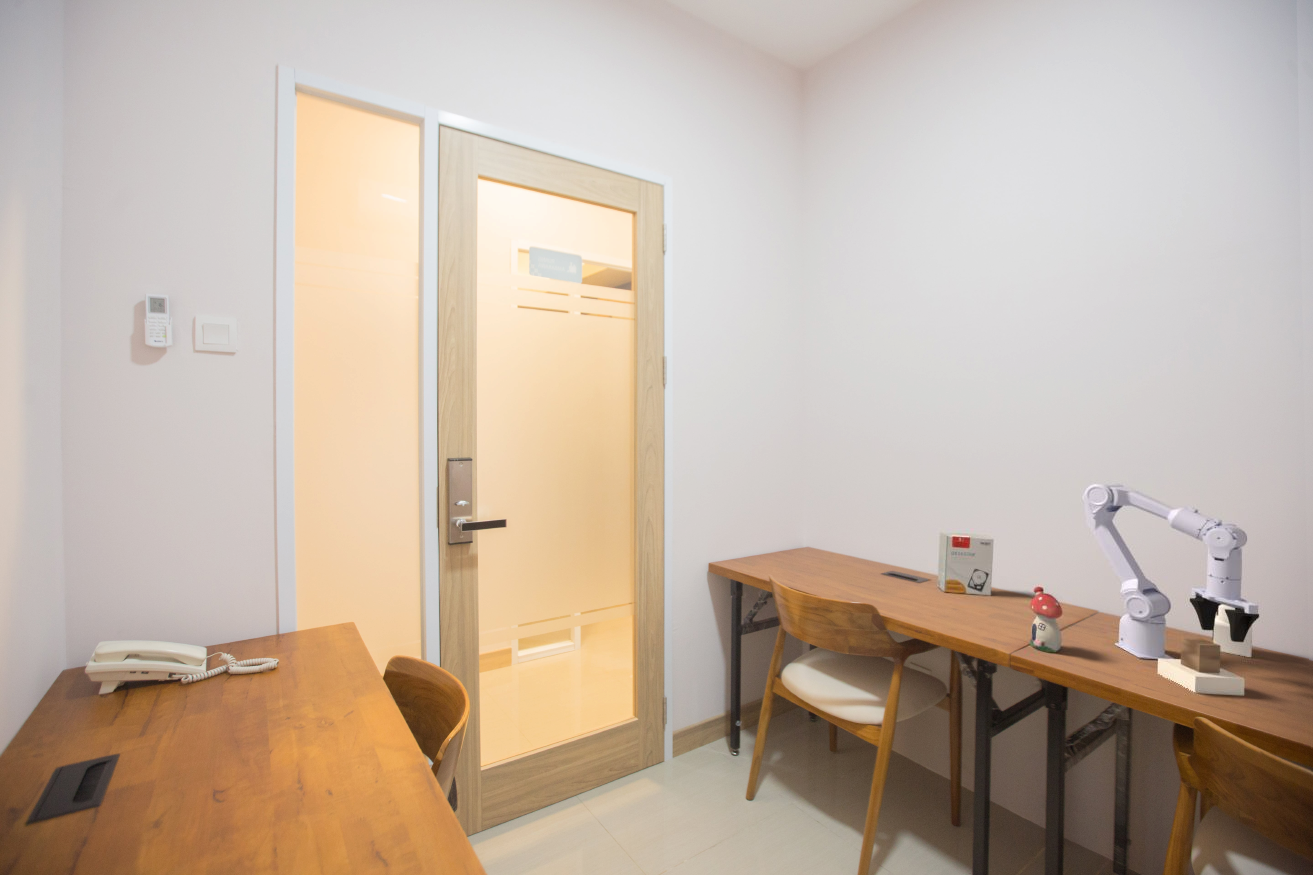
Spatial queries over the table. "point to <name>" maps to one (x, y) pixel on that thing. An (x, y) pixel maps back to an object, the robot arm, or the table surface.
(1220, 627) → the medicine bottle
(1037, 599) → the decorative ornament
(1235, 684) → the ceramic base
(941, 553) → the hard drive box
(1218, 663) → the walnut block
